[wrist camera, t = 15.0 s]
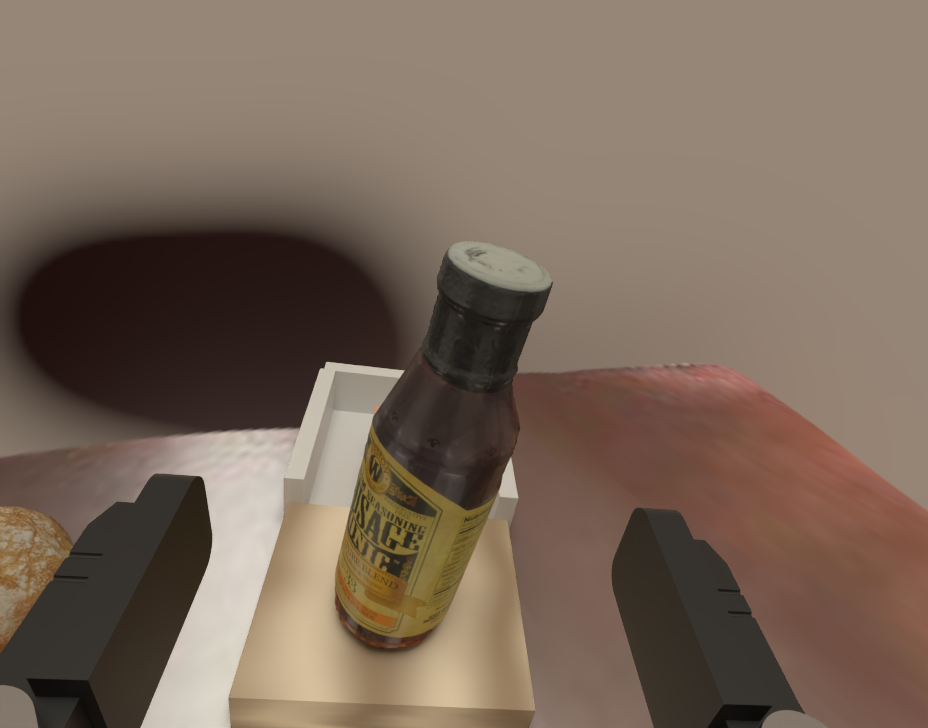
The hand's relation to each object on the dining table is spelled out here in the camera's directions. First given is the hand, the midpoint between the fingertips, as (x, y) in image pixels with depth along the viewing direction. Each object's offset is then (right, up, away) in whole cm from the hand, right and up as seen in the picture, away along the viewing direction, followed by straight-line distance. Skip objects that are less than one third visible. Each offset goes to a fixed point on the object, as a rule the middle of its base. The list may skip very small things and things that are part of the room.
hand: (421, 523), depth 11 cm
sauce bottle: (-3, -10, +19) cm, 22 cm away
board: (-3, -12, +22) cm, 25 cm away
